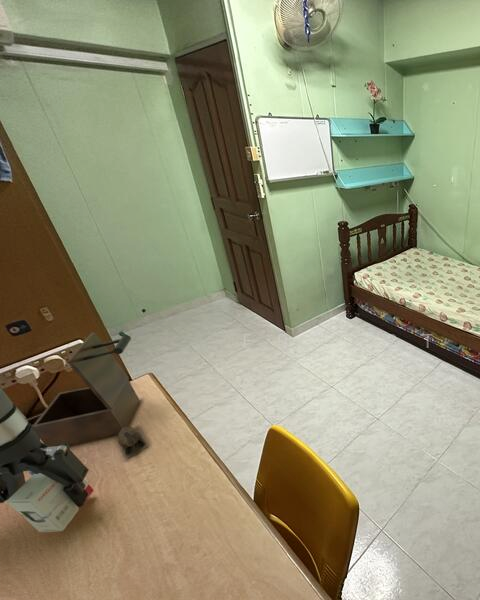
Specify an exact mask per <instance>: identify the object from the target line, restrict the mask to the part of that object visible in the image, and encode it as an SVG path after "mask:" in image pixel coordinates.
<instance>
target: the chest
mask: <svg viewBox="0 0 480 600" xmlns="http://www.w3.org/2000/svg"><path fill="white" fill-rule="evenodd" d="M140 402H141V400H140V398H139V396H138V395H137V392H136V391H135V389H134V387H133V385H132V383H131V382H130V380H129V379H128V381H127V382H126V384H125V386H124V388H123V389H122V391H121V393H120V395H119V397H118V398H117V400H116V402H115V404H114V405H113V407H112V409H109V410H108V409H107V407H106V406H105V405H104V404H103V403H102V402H101V401H100V399H99V398H98V397H97V396H96V395H95V394H94V392H93V391H92V390H91V389H90V388H89V387H88V386H86V387H82V388H76V389H71V390H66V391H61V392H58V393H57V395H56V396H55V397H54V398H53V399H52V401H51V402H50V403H49V404H48V406H47V407H46V408H45V410H43V411H42V413H41V414H40V416H39V417H38V418H37V419H36V421H35V422H34V423H33V424H32V426H33V427H34V428H35V430H36V431H37V432H38V433H39V436H40V441H41V442H42V443H44V444H46V445H48V446H49V447H54V446H59V445H60V444H61V443H62V442H67V443H68V444H69V447H73V446H78V445H80V444H86V443H89V442H94V441H98V440H103V439H106V438H111V437H115V436H119V432H120V431H121V429H122V428H125V427H130V423H131V422H132V419H133V417H134V415H135V413H136V411H137V409H138V406H139V405H140Z"/></svg>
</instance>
